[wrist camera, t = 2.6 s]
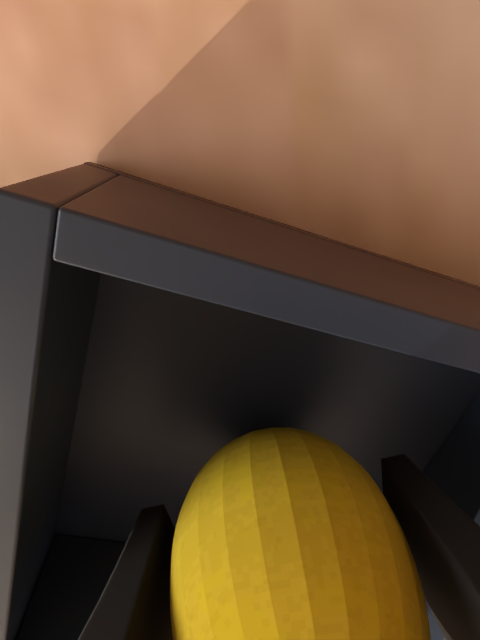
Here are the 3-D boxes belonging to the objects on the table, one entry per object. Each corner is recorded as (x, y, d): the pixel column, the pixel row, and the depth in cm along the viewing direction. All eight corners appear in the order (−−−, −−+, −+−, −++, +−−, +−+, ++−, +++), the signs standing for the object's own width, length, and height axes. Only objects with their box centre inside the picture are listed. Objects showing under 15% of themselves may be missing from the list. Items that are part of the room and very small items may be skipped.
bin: (549, 308, 12) (723, 401, 8) (355, 573, 17) (399, 706, 13) (87, 161, 9) (-8, 186, 5) (34, 533, 14) (-31, 685, 10)
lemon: (206, 354, 11) (202, 775, 4) (377, 393, 12) (621, 777, 5) (164, 486, 13) (112, 907, 6) (311, 509, 14) (413, 888, 7)
